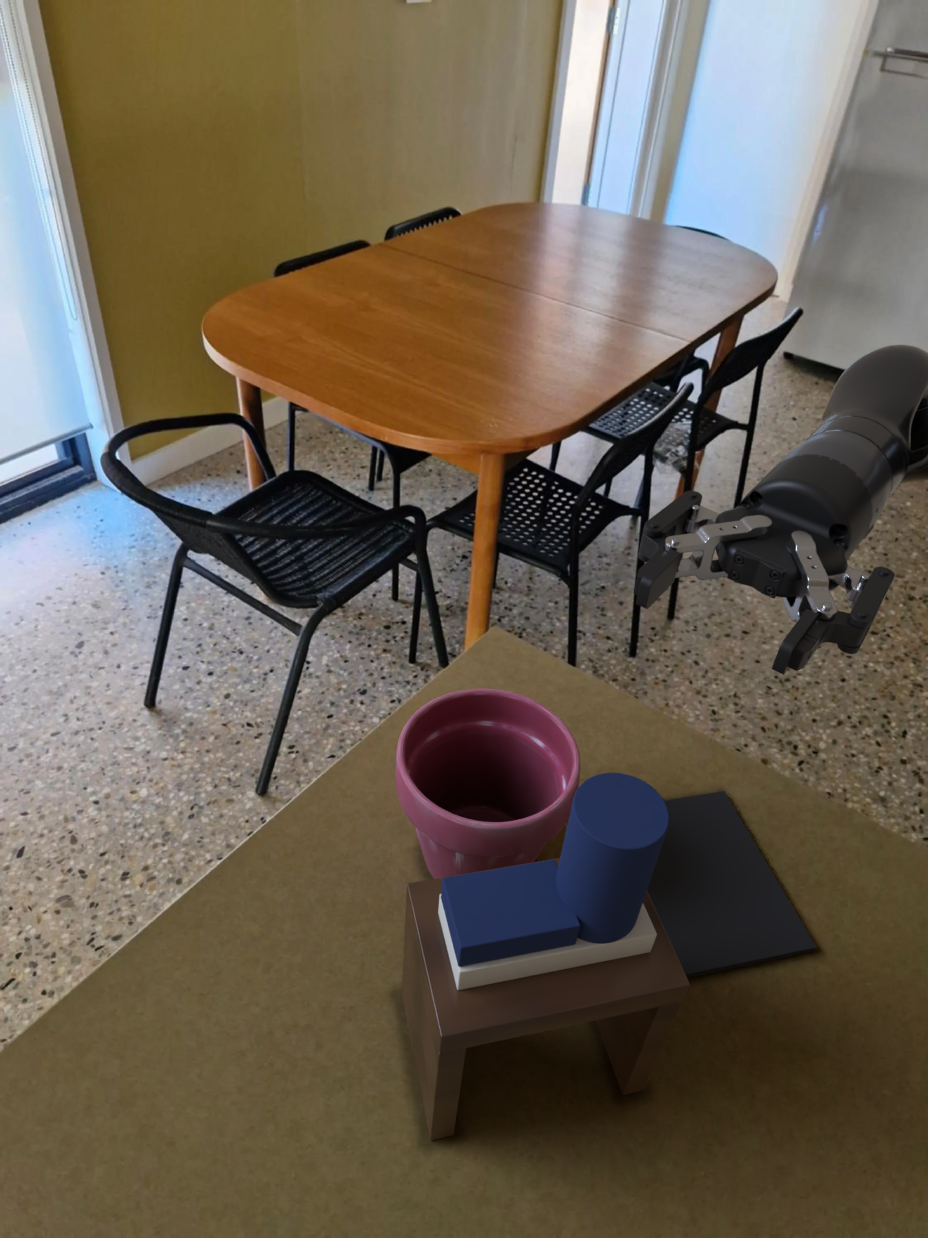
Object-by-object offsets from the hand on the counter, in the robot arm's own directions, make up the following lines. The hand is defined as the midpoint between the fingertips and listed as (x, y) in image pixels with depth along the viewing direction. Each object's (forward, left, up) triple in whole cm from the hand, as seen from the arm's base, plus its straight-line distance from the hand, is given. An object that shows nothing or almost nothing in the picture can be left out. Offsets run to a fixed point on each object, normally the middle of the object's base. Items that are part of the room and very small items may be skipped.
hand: (709, 627), depth 50 cm
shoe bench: (-6, +10, -32) cm, 34 cm away
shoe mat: (+4, -9, -32) cm, 33 cm away
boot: (-6, +10, -18) cm, 21 cm away
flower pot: (+10, +9, -32) cm, 34 cm away
